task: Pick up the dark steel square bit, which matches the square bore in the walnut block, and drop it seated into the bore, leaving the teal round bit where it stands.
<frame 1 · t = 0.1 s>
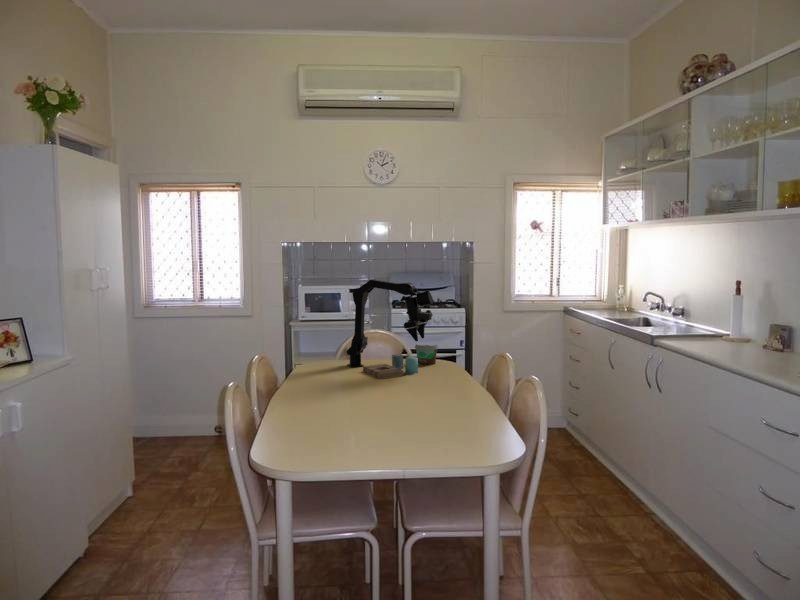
hand: (420, 339, 272), 15 cm above the table, tool pointing down, fingers open, 9 cm apart
bore block: (382, 373, 268), on the table
square bit: (397, 369, 278), on the table
round bit: (411, 372, 270), on the table
food container: (425, 364, 290), on the table
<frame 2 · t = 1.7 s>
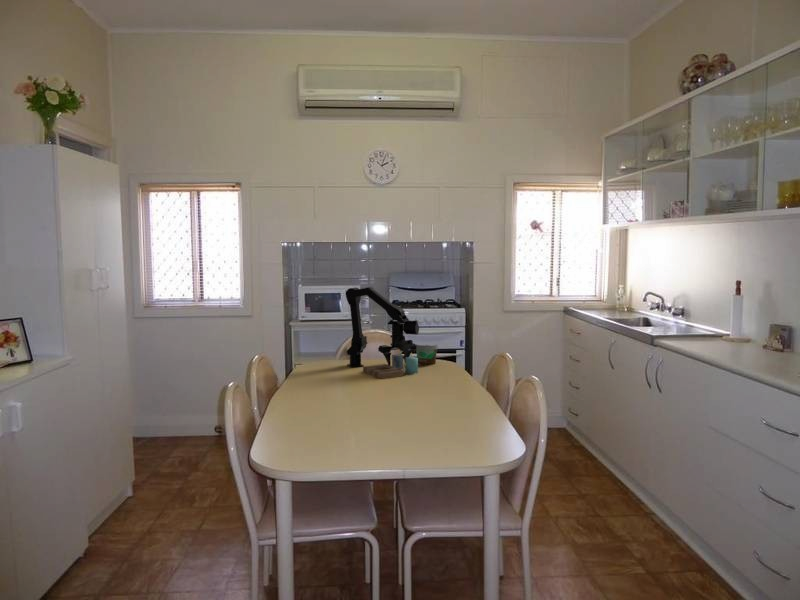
hand: (397, 364, 278), 2 cm above the table, tool pointing down, fingers open, 9 cm apart
nothing on the table moved.
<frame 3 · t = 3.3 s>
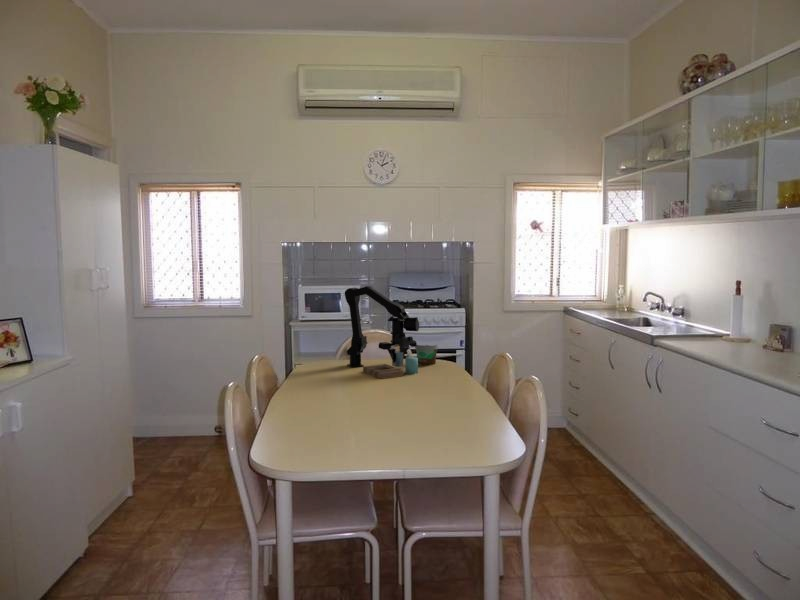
hand: (397, 361, 278), 4 cm above the table, tool pointing down, fingers closed on square bit, 4 cm apart
square bit: (397, 365, 278), point 2 cm above the table, touching gripper
everything else where it was.
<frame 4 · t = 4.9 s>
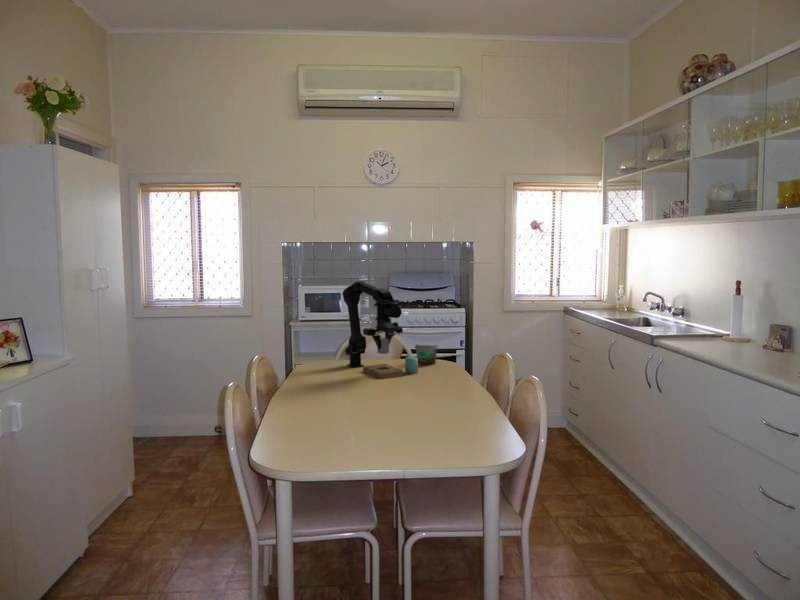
hand: (383, 348, 267), 12 cm above the table, tool pointing down, fingers closed on square bit, 4 cm apart
square bit: (383, 352, 268), point 10 cm above the table, touching gripper
everything else where it was.
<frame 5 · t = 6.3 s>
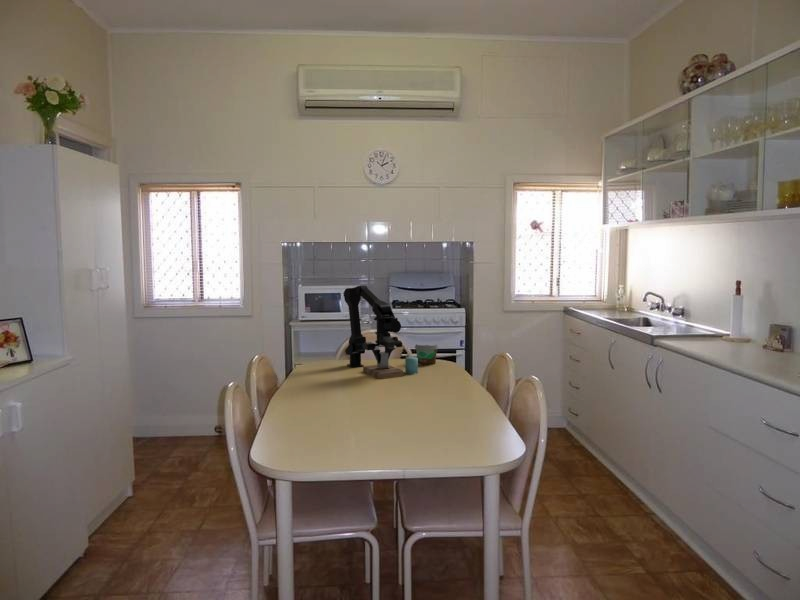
hand: (382, 362, 268), 5 cm above the table, tool pointing down, fingers closed on square bit, 4 cm apart
square bit: (382, 367, 268), point 3 cm above the table, touching gripper
everything else where it was.
when the fingers open (3 cm above the table, at t = 7.4 s): square bit drops 1 cm, resting in bore block.
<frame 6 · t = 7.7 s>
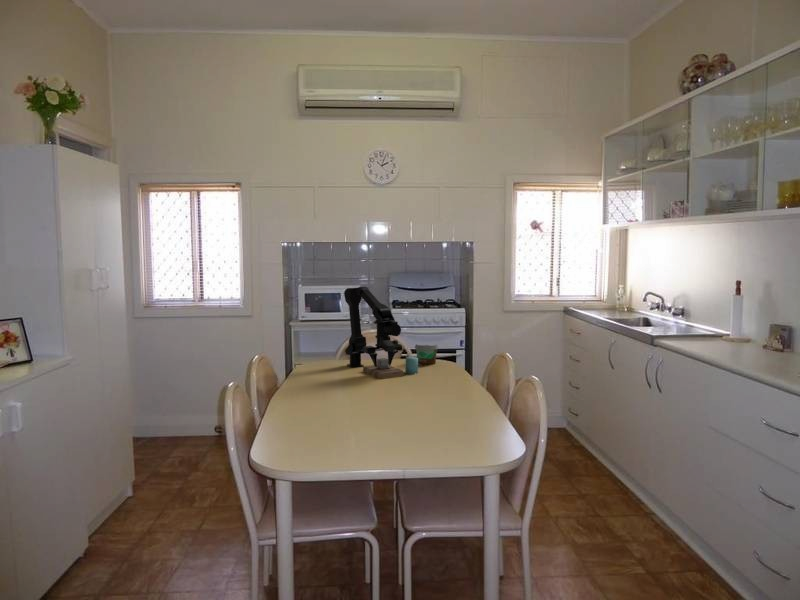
hand: (382, 366, 268), 3 cm above the table, tool pointing down, fingers open, 7 cm apart
square bit: (382, 373, 268), resting in bore block
everything else where it was.
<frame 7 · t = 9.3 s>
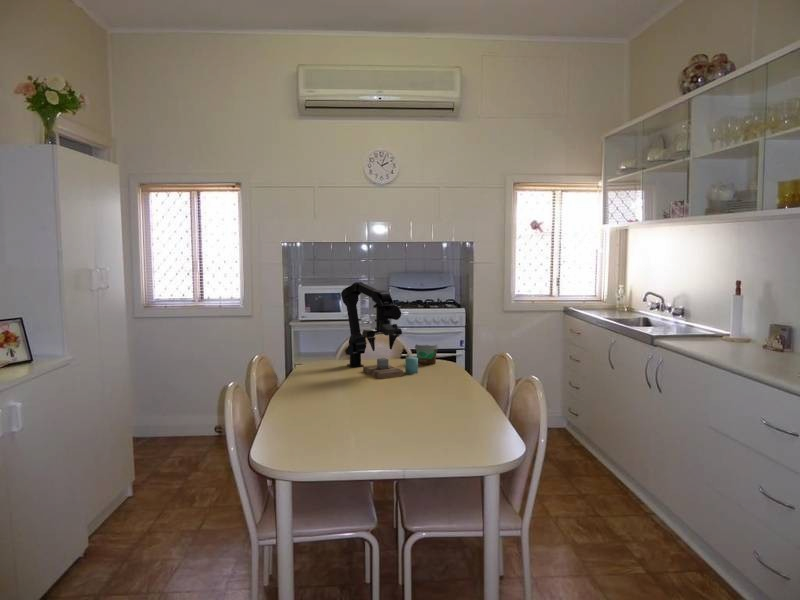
hand: (382, 350, 269), 11 cm above the table, tool pointing down, fingers open, 9 cm apart
nothing on the table moved.
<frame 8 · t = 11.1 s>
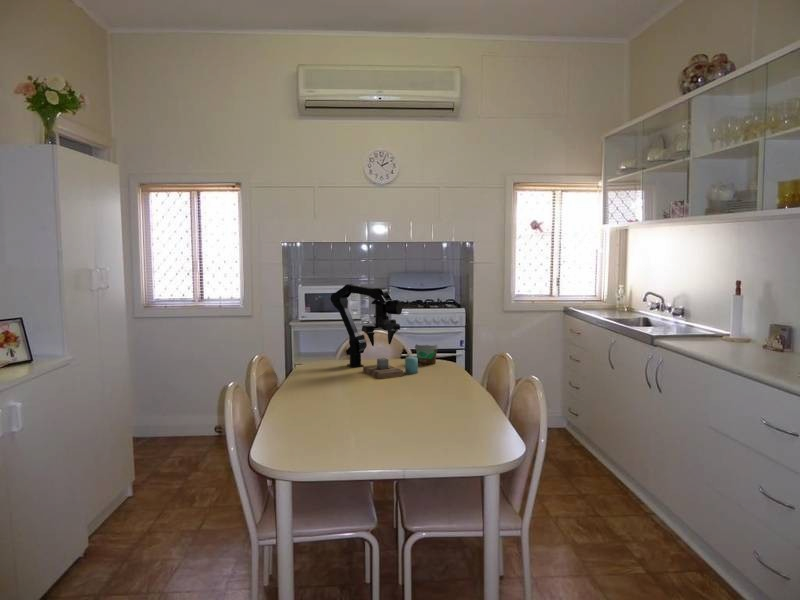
hand: (381, 345, 277), 12 cm above the table, tool pointing down, fingers open, 9 cm apart
nothing on the table moved.
at the end: square bit 0.0 cm off-centre on the bore block, point 0.0 cm above the bore block's base; square bit tilted 0°; round bit moved 0.0 cm from its start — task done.
